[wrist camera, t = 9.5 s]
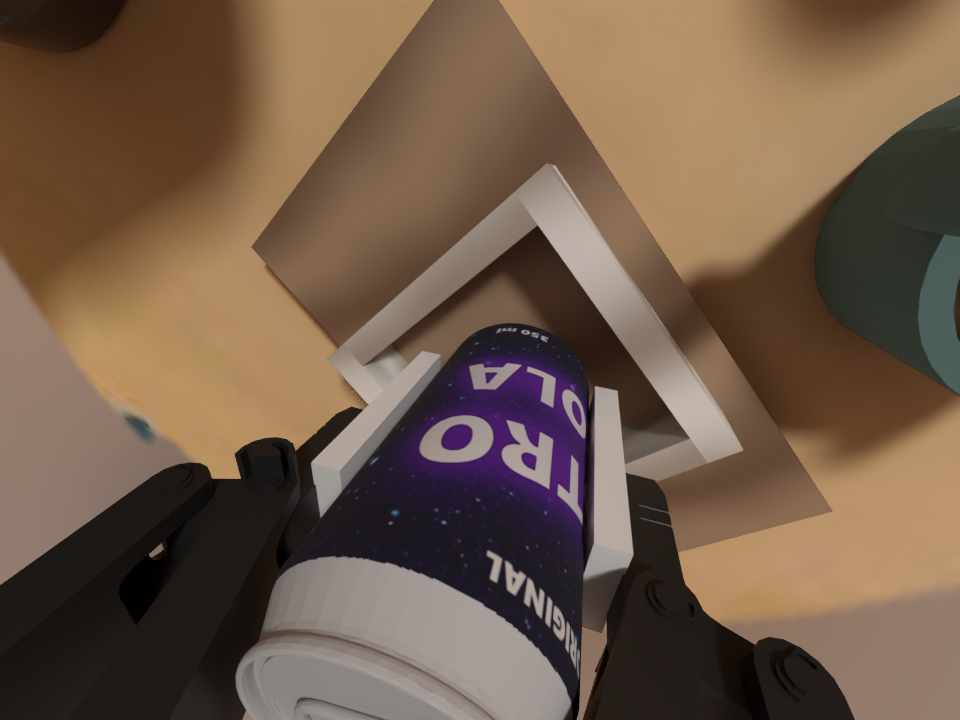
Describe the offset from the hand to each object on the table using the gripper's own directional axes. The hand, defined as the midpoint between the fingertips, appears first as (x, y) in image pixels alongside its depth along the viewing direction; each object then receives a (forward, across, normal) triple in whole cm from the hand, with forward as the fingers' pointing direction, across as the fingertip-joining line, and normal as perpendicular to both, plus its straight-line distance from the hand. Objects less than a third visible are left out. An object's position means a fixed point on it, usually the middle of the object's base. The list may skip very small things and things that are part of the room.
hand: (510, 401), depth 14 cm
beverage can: (+2, 0, 0) cm, 2 cm away
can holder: (+4, 0, 0) cm, 4 cm away
